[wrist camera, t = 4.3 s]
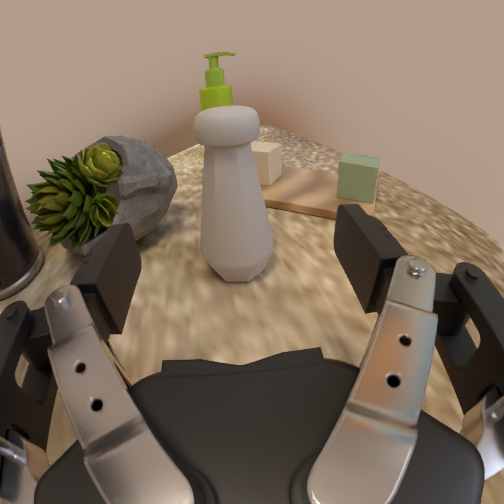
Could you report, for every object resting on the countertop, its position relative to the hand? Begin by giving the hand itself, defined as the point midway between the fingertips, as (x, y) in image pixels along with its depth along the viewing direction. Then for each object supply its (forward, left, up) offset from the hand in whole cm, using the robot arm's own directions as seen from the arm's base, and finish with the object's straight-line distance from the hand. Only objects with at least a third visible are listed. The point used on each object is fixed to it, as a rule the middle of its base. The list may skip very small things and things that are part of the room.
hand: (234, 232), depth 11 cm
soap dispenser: (-24, +39, -10) cm, 46 cm away
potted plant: (-19, +7, -10) cm, 22 cm away
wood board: (-4, +26, -9) cm, 27 cm away
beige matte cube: (-10, +26, -8) cm, 29 cm away
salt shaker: (-5, +9, -10) cm, 14 cm away
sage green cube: (+3, +26, -8) cm, 27 cm away
